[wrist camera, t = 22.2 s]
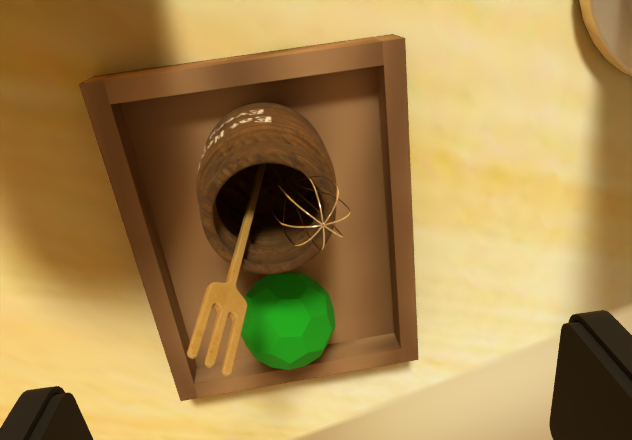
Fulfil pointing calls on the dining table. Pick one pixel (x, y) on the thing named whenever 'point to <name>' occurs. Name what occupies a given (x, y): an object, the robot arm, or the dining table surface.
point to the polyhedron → (287, 320)
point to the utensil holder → (260, 207)
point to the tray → (354, 190)
